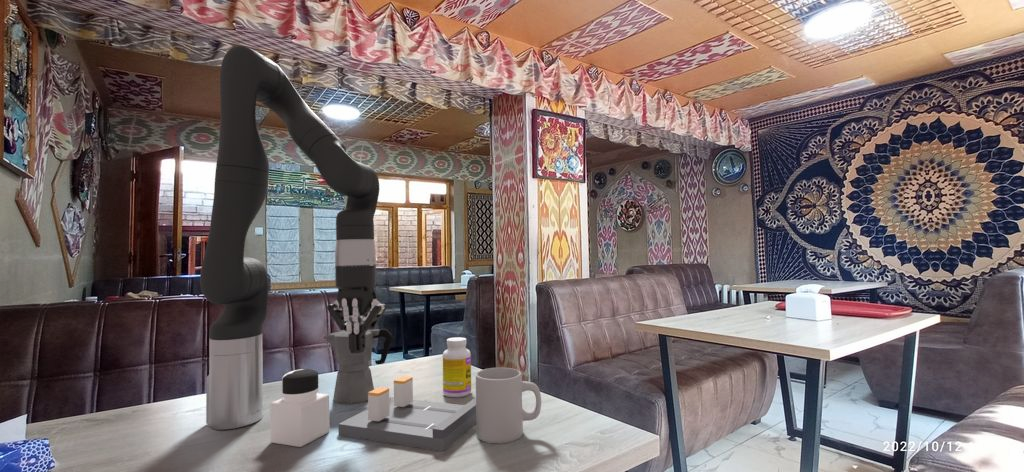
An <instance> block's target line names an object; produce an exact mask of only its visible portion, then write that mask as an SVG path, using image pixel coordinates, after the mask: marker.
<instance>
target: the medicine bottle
mask: <svg viewBox="0 0 1024 472" xmlns="http://www.w3.org/2000/svg"><path fill="white" fill-rule="evenodd" d="M281 387H282V388H281V397H282V398H280V399H277V400H274V401H272V402H270V406H269V407H270V409H269V410H270V411H269V412H270V413H269V415H270V416H269V417H270V423H269V425H270V427H269V428H270V431H269V432H270V434H269V435H270V436H269V437H270V438H269V439H270V443H271V444H278V445H284V446H290V447H291V446H292V447H297V448H298V447H299V448H302V447H304V446H306V445H307V444H309V443H311V442H313V441H315V440H317V439H319V438H320V437H323V436H325V435H327V434H328V433H329V432H330V394H328V393H321V392H320V393H319V372H318V371H317V370H314V369H310V368H303V369H295V370H291V371H288V372H287V373H285V374H284V375H283V376H282V377H281Z"/></svg>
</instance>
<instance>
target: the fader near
mask: <svg viewBox="0 0 1024 472" xmlns="http://www.w3.org/2000/svg"><path fill="white" fill-rule="evenodd" d="M389 398H390V387H389V388H387V387H380V386H378V387H377V388H374V390H372V391H370V392H368V400H367V409H368V420H371V421H381V420H382V419H384V418H386V417H388V416H389Z"/></svg>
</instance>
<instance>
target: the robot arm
mask: <svg viewBox="0 0 1024 472" xmlns="http://www.w3.org/2000/svg"><path fill="white" fill-rule="evenodd" d="M219 96H220V97H219V99H220V102H219V104H220V106H219V107H220V118H219V120H220V121H219V122H220V123H219V137H218V151H217V158H216V163H215V164H216V165H215V175H214V187H213V189H214V191H213V192H214V193H213V202H212V208H211V209H212V210H211V218H210V225H209V233H208V237H207V241H206V247H205V250H204V255H203V260H202V263H201V264H202V265H201V269H200V276H199V284H200V285H199V286H200V289H201V293H202V295H203V297H204V298H205V299H206V300H207V301H208V302H210V303H211V304H214V305H224V309H223V311H222V313H221V315H220V316H219V317H218V318H217V319H216V320H215V321H213V322H212V323H211V324H210V326H209V331H208V332H209V333H208V335H209V336H208V337H209V338H208V339H209V343H208V345H209V347H208V348H209V349H208V350H209V351H208V352H209V353H208V354H209V361H208V362H209V364H208V365H209V366H208V367H209V368H208V369H209V374H208V375H207V376H206V379H205V381H206V382H205V383H206V386H205V388H206V391H205V392H206V395H205V396H206V398H205V400H206V407H205V409H206V411H205V413H206V414H205V416H206V417H205V424H206V425H207V424H208V427H209V428H210V429H213V430H220V431H221V430H232V429H237V428H238V429H239V428H242V427H245V426H249V425H252V424H254V423H257V422H258V421H260V420H261V419H262V418H263V413H264V411H263V406H264V405H263V399H264V398H263V392H264V391H263V388H264V387H263V384H264V383H263V379H264V378H263V377H264V376H263V369H264V368H263V365H264V364H263V363H264V362H263V358H264V357H263V356H264V353H263V350H264V349H263V331H264V329H263V327H264V323H265V321H266V319H267V314H268V303H269V302H268V301H269V276H268V271H267V269H266V267H265V265H264V264H263V263H262V261H260V260H258V259H257V258H253V257H249V256H244V255H245V245H246V244H245V243H246V240H247V239H246V238H247V235H248V232H249V229H250V227H251V225H252V223H253V221H254V220H255V218H256V216H257V215H258V213H259V211H260V209H261V208H262V206H263V204H264V202H265V200H266V197H267V193H268V185H269V174H270V161H269V158H268V153H267V151H266V148H265V146H264V143H263V140H262V136H261V134H260V132H259V128H258V125H257V119H256V117H257V116H256V111H257V110H256V107H257V106H256V105H257V103H261V104H262V105H264V106H265V107H267V108H268V109H269V110H271V111H272V112H274V113H275V114H276V115H277V116H278V117H279V118H280V119H281V120H282V122H283V123H284V124H285V126H286V129H287V132H288V134H289V135H290V138H291V139H292V141H293V142H294V144H295V145H296V146H297V147H298V148H299V149H300V150H301V151H302V152H303V153H304V155H306V157H307V158H308V159H310V161H311V162H312V163H313V164H314V165H315V166H316V168H317V171H318V172H319V173H320V175H321V178H322V179H323V180H324V182H325V183H326V185H327V186H328V187H329V188H330V189H331V190H333V191H334V192H335V193H337V194H339V195H341V196H345V197H347V198H346V205H345V209H343V210H340V211H339V212H338V213H337V214H336V219H335V231H336V232H335V234H336V235H335V240H336V241H335V249H334V250H335V251H334V258H335V259H334V269H335V270H334V271H335V272H334V273H335V274H334V275H335V277H334V278H335V279H334V280H335V282H334V283H335V288H336V289H338V291H337V294H336V297H335V298H336V300H335V301H333V303H329V304H327V306H326V310H327V311H328V312H329V314H330V316H331V317H332V319H333V321H334V322H335V323H336V326H337V327H338V329H339V330H340V331H344V330H345V331H347V333H348V334H349V349H350V352H351V353H356V354H358V353H361V352H363V351H364V349H365V347H366V344H365V333H366V331H368V330H375V327H376V325H378V323H379V321H380V320H381V318H382V317H383V315H384V313H385V312H386V310H387V309H388V306H387V304H385V303H381V302H380V301H379V300H378V299H377V298H378V296H377V293H376V291H375V289H376V286H377V255H376V254H377V253H376V244H375V227H374V226H375V225H374V220H375V219H374V217H375V214H376V211H377V205H378V201H379V200H378V199H379V197H380V195H379V194H380V180H379V177H378V174H377V172H376V170H375V169H374V168H373V167H371V166H370V165H367V164H364V163H362V162H359V161H356V160H355V159H354V158H352V157H351V156H350V155H349V154H348V153H347V149H346V145H345V143H344V142H343V141H342V139H340V137H339V136H337V135H336V133H335V132H334V131H333V130H332V129H331V128H330V127H329V126H328V125H327V124H326V123H325V122H324V121H323V120H322V119H321V118H320V117H319V116H318V115H317V114H316V113H315V112H314V111H313V109H311V108H310V106H309V105H308V104H307V102H305V100H304V99H303V98H302V96H301V95H300V93H299V92H298V91H297V90H296V88H295V87H294V85H293V84H292V82H291V80H290V79H289V77H288V76H287V74H286V73H285V71H283V69H282V68H281V67H280V66H279V65H278V64H277V63H276V62H274V61H273V60H271V58H268V57H267V56H265V55H263V54H261V53H260V52H258V51H256V50H254V49H252V48H250V47H249V46H245V45H235V46H233V47H231V48H230V49H228V51H227V52H226V53H225V54H224V56H223V58H222V61H221V65H220V71H219Z"/></svg>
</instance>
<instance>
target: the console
mask: <svg viewBox="0 0 1024 472" xmlns="http://www.w3.org/2000/svg"><path fill="white" fill-rule="evenodd" d="M474 425H476V398H472V399H471V400H470V401H468V402H467V403H466V404H455V403H447V402H438V401H430V400H429V401H427V400H420V399H413V402H412V403H410V404H408V405H407V406H405V407H399V406H394V396H391V397H390V396H389V416H388V417H386V418H384V419H382V420H381V421H371V420H368V408H367V409H365V410H363V411H360V412H359V413H357V414H355V415H353V416H351V417H349V418H347V419H345V420H344V421H341V422H340V423H338V426H337V427H338V436H344V437H350V438H356V439H360V440H361V439H362V440H368V441H375V442H381V443H387V444H388V443H389V444H394V445H395V444H396V445H400V446H401V445H402V446H406V447H412V448H413V447H414V448H421V449H424V450H425V449H427V450H431V451H432V450H434V451H437V452H438V451H440V452H444V451H446V450H447V449H448V448H449V447H450V446H451V445H453V444H454V443H455V442H456V441H457V440H458V439H460V438H461V437H462V436H463V435H464V434H466V433H467V431H468V430H470V429H471V428H473V426H474Z"/></svg>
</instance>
